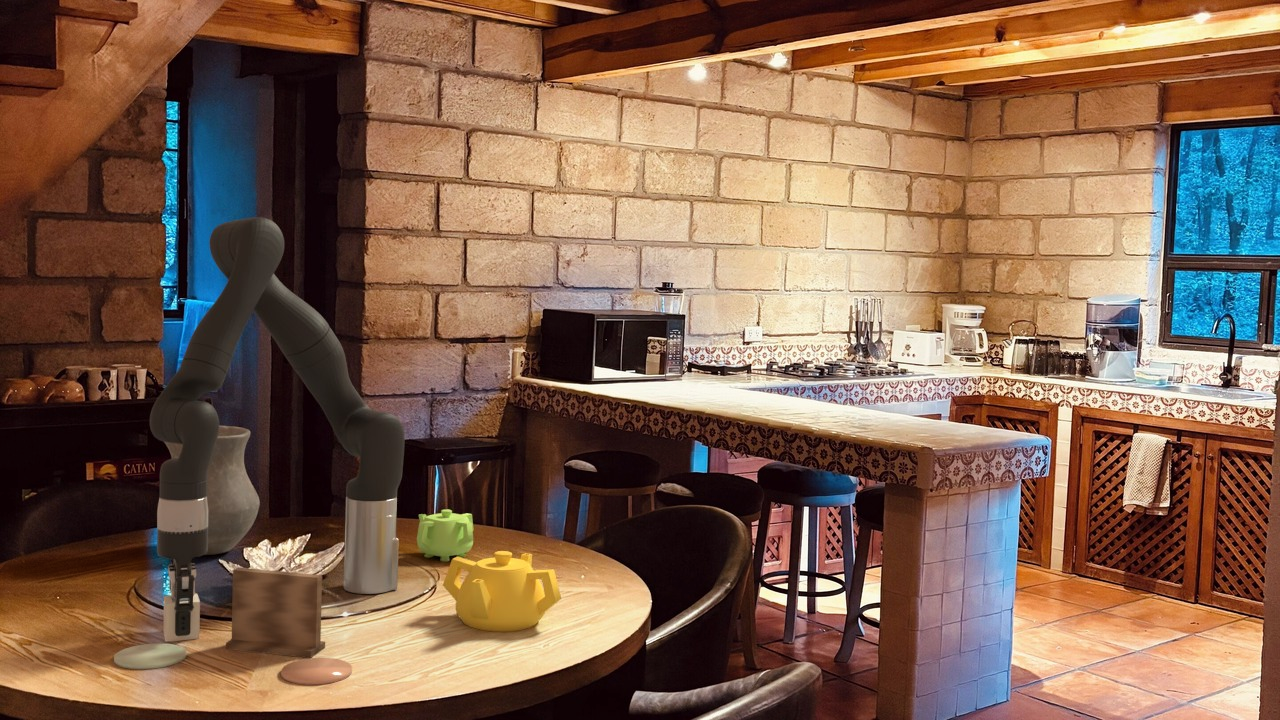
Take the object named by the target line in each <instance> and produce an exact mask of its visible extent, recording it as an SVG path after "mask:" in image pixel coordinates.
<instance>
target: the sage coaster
mask: <svg viewBox="0 0 1280 720" xmlns="http://www.w3.org/2000/svg"><path fill="white" fill-rule="evenodd" d="M186 657H187V650H186V648H185V647H183V646H181V645H178V644H173V643H159V642H157V643H145V644H139V645H138V644H137V645H134V646H133V645H132V646H130V647H127V648H124V649H120V650H119V651H117V652H116V653H115V654H114V656H113V662H114V664H115V665H116V666H118V667H120V668H124V669H130V670H151V669H152V670H153V669H154V670H155V669H161V668H165V667H171V666H173V665H176V664H178V663H180V662H182V661H184V660H185V659H186Z"/></svg>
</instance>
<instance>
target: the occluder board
mask: <svg viewBox="0 0 1280 720" xmlns="http://www.w3.org/2000/svg"><path fill="white" fill-rule="evenodd" d="M322 593H323V575H321V574H315V573H314V574H311V573H300V572H289V571H280V570H279V571H278V570H269V569H258V568H247V567H237V568H234V569H233V570H232V602H231V603H232V605H231V606H232V607H231V609H232V610H231V639H230V640H228V641H226V642H225V650H232V651H242V652H244V651H245V652H251V653H261V654H272V655H279V656H288V657H289V656H291V657H298V658H306V659H309V658H314V656H315V655H317V654H319V653H320V652H321V651H323V650H324V649H326V641H325V640H322V639H321V638H322V636H321V634H322V627H321V626H322V600H323V599H322V598H323V594H322Z"/></svg>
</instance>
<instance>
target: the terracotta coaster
mask: <svg viewBox="0 0 1280 720" xmlns="http://www.w3.org/2000/svg"><path fill="white" fill-rule="evenodd" d="M352 672H353V666H352V664H351V663H349V662H348V661H346V660H343V659H339V658H334V657H311V658H302V659H299V660H294V661H292V662H288V663H287V664H285V665H284V666H283V667H282V668H281V674H280V676H281V677H282V679H283V680H285V681H287V682H289V683H292V684H296V685H305V686H306V685H307V686H315V685H319V686H320V685H326V684H327V685H328V684H333V683H337V682H340V681H343V680H345V679H347V678H349V677H350V676H351V675H352Z"/></svg>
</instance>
